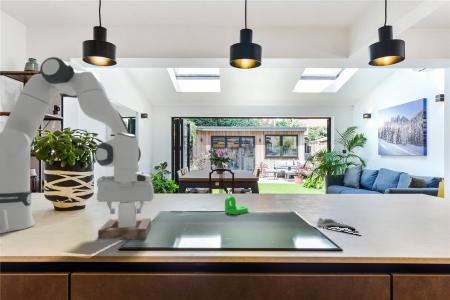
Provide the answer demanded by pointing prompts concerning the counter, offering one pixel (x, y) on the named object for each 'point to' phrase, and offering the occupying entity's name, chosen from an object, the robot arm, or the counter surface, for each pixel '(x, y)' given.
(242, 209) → the mechanical part
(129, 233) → the socket block
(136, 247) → the counter surface
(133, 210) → the can
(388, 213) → the counter surface
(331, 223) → the cloth
